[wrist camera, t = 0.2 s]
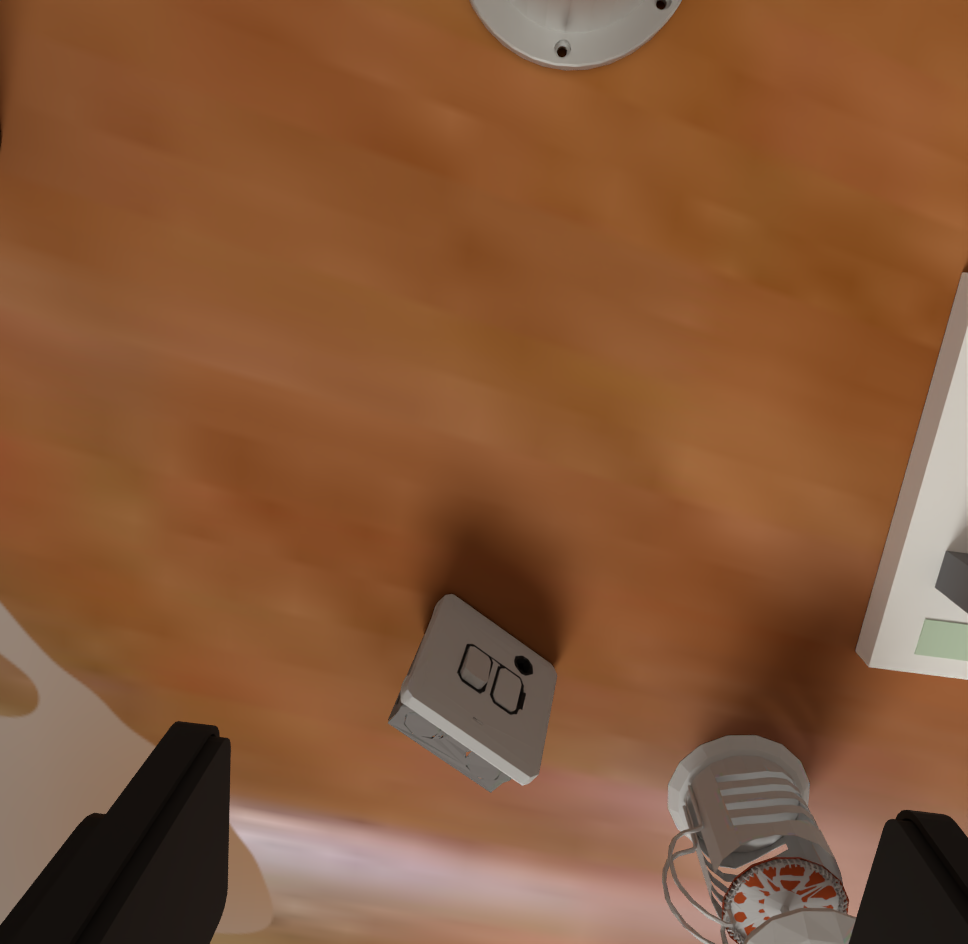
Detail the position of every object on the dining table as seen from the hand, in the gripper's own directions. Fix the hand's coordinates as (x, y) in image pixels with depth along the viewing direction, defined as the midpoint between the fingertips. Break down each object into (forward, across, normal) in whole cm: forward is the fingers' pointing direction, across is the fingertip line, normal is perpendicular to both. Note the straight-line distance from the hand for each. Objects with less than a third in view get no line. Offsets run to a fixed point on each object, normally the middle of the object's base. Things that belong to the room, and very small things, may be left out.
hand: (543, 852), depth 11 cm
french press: (+37, -17, +26) cm, 48 cm away
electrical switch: (+37, +1, +18) cm, 41 cm away
